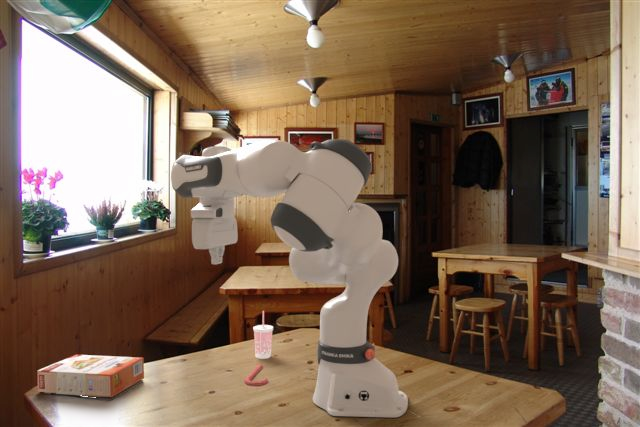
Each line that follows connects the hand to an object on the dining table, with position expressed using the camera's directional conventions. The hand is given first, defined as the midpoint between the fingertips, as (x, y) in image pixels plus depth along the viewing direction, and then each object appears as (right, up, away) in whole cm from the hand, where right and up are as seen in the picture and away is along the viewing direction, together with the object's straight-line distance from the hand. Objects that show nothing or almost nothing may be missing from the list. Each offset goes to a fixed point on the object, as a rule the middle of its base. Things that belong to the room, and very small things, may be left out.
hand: (216, 263), depth 130 cm
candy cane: (+10, -32, +6) cm, 34 cm away
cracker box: (-20, -27, -5) cm, 35 cm away
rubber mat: (-25, -31, -4) cm, 40 cm away
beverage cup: (+9, -31, +23) cm, 40 cm away
